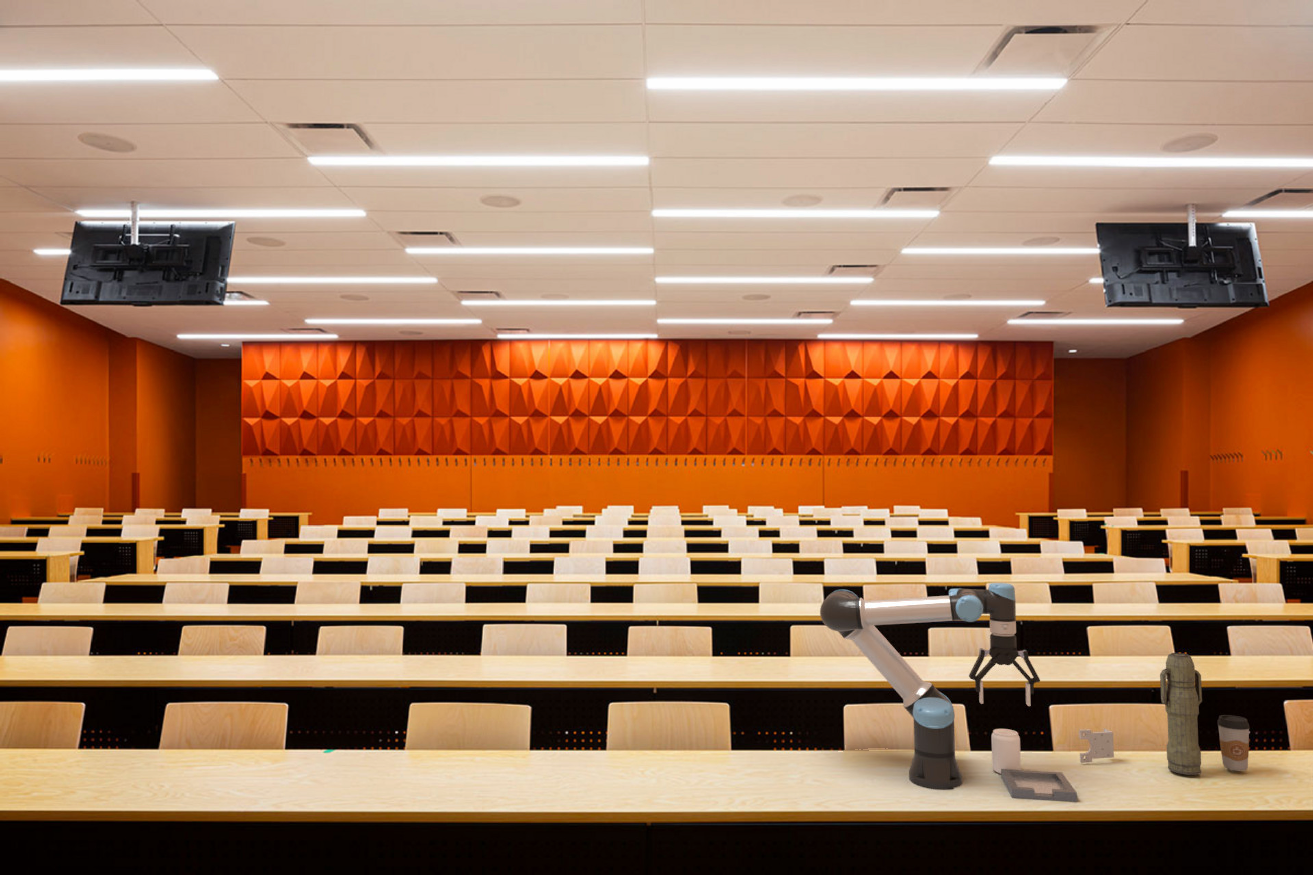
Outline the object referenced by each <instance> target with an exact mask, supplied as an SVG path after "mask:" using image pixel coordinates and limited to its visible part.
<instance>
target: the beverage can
mask: <svg viewBox="0 0 1313 875" xmlns="http://www.w3.org/2000/svg"><path fill="white" fill-rule="evenodd" d="M1021 761H1022V760H1021V737H1020V736H1019V733H1018V732H1017V731H1016V730H1014V729H1013V730H1012V729H1008V728H995V729H993V730H992V733H991V762H992V764H991V765H992V766H991V767H992V771H994V772H996V773H997V774H1000V775H1001V769H1012V770H1022V767H1021V765H1022V764H1021Z"/></svg>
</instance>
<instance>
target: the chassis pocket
mask: <svg viewBox="0 0 1313 875" xmlns="http://www.w3.org/2000/svg"><path fill="white" fill-rule="evenodd" d="M1000 777H1001V780H1002V782H1003V783H1004V785H1005V787H1006V789H1007V791H1008V793H1009V795H1010V797H1011V799H1021V800H1022V799H1023V800H1040V801H1058V802H1070V803H1071V802H1073V803H1075V802H1076V803H1077V802H1078V793H1077V791H1076V789H1075V788H1074V787H1073V785H1072V784H1071V783H1070V781H1069V780H1068V779H1067V777H1066V776H1065V775H1064V773H1063V772H1060V771H1048V770H1047V771H1045V770H1028V769H1027V770H1026V769H1025V770H1024V769H1021V770H1012V769H1001V774H1000Z"/></svg>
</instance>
